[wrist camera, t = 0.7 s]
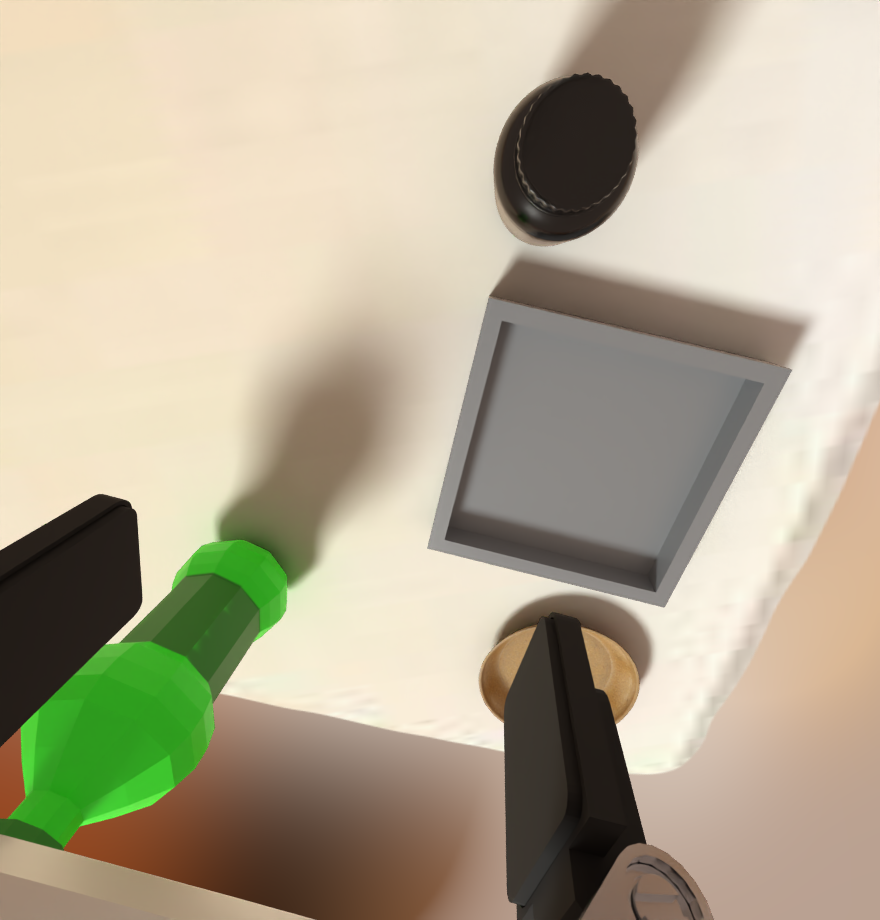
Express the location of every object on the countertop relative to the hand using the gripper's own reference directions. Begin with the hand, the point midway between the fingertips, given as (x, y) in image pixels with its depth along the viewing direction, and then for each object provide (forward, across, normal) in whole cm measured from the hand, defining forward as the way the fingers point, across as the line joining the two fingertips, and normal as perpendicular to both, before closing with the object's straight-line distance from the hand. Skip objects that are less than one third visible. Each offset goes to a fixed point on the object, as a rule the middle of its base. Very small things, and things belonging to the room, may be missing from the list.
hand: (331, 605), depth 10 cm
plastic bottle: (+26, +14, +24) cm, 38 cm away
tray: (+26, -12, +4) cm, 29 cm away
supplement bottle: (+27, -4, -12) cm, 30 cm away
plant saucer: (+26, -17, +26) cm, 41 cm away
